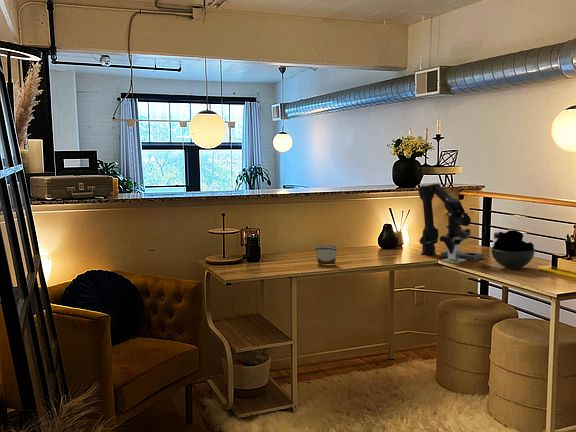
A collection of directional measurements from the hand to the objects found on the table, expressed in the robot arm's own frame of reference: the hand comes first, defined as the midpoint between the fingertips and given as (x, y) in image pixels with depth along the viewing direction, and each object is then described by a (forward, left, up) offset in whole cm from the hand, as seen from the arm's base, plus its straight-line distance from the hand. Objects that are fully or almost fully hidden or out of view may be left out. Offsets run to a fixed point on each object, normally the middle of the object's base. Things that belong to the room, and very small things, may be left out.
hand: (453, 252), depth 303 cm
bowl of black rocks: (+33, -1, -4) cm, 33 cm away
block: (-7, +10, -4) cm, 13 cm away
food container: (-47, -49, -4) cm, 68 cm away
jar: (+11, +32, -4) cm, 34 cm away
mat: (0, 0, -4) cm, 4 cm away
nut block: (0, 0, -3) cm, 3 cm away
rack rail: (-1, +10, -4) cm, 11 cm away
